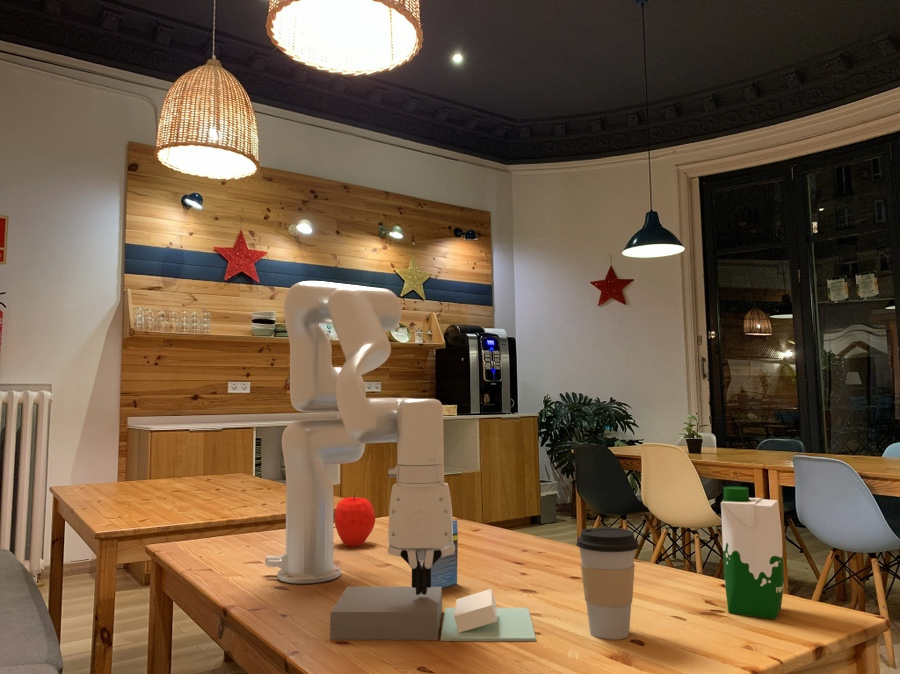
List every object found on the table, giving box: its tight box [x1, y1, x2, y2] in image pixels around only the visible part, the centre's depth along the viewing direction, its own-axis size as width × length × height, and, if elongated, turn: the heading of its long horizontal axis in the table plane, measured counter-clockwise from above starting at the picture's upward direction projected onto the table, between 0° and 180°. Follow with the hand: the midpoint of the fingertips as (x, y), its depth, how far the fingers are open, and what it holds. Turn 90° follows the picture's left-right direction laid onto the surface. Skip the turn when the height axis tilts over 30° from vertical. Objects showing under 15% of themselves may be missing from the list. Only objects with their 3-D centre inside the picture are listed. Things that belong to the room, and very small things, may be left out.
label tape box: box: [417, 519, 459, 589], centre depth 132 cm, size 9×4×12 cm, turn 135°
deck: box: [329, 586, 443, 641], centre depth 110 cm, size 16×14×4 cm
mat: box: [440, 607, 537, 642], centre depth 110 cm, size 14×15×1 cm
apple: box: [334, 494, 376, 548], centre depth 171 cm, size 10×10×12 cm
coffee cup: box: [575, 526, 640, 641], centre depth 106 cm, size 9×9×15 cm
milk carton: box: [720, 485, 785, 621], centre depth 116 cm, size 9×9×20 cm
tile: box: [454, 588, 497, 633], centre depth 109 cm, size 6×9×2 cm, turn 177°
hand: (421, 592), depth 110 cm, fingers closed
